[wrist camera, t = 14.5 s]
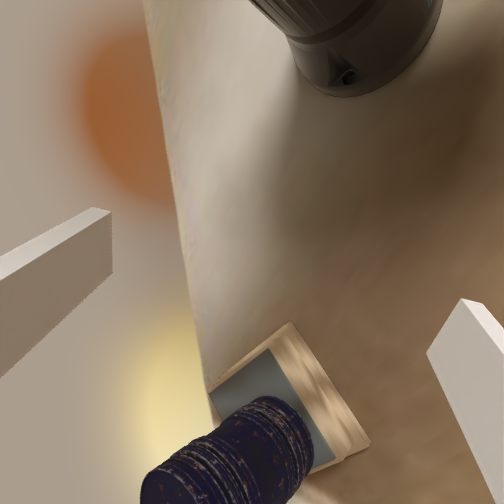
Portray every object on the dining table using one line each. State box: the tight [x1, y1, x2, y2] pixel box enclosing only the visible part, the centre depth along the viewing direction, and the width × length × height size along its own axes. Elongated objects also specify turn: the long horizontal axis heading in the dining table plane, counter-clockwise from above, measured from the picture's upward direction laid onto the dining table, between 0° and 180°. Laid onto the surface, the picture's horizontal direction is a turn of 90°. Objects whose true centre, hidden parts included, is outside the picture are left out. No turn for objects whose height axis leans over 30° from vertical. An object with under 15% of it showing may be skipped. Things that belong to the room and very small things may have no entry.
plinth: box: [207, 322, 371, 475], centre depth 40 cm, size 16×16×5 cm
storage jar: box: [140, 395, 314, 504], centre depth 31 cm, size 10×10×15 cm
